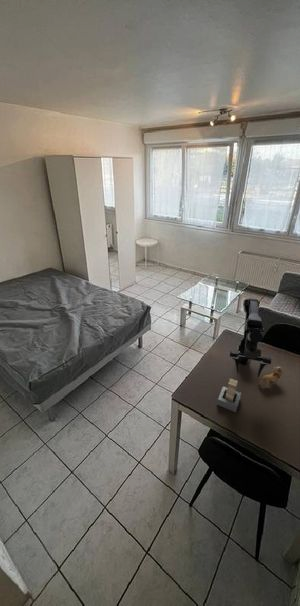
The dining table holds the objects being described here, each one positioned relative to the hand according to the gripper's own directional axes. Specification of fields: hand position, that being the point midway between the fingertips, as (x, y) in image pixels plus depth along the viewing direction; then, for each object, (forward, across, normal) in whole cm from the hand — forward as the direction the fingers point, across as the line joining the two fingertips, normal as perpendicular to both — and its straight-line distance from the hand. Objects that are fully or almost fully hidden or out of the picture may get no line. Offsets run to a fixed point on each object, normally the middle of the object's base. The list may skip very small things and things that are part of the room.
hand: (247, 375), depth 125 cm
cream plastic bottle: (+14, -7, +1) cm, 16 cm away
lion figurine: (+3, +12, +17) cm, 21 cm away
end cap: (+14, -7, +1) cm, 16 cm away
